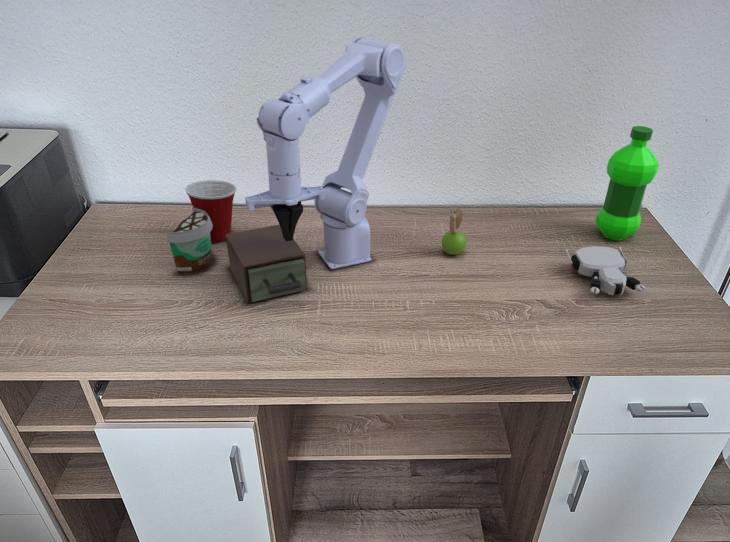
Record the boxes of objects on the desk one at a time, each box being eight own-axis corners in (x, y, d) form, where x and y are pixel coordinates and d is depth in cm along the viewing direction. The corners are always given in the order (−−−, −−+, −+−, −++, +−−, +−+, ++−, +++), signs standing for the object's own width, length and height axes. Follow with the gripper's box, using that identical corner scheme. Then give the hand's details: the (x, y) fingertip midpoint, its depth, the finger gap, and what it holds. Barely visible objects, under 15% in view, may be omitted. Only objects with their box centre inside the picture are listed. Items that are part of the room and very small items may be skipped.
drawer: (314, 302, 118) (313, 273, 114) (259, 315, 114) (255, 285, 111) (285, 259, 131) (283, 231, 127) (234, 269, 127) (231, 241, 124)
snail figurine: (435, 258, 134) (440, 207, 127) (444, 245, 139) (449, 195, 132) (459, 263, 133) (465, 212, 126) (468, 250, 138) (473, 200, 131)
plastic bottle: (646, 240, 143) (679, 134, 129) (610, 248, 140) (639, 139, 125) (617, 222, 151) (645, 119, 136) (582, 229, 147) (607, 124, 133)
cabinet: (307, 289, 123) (305, 254, 118) (248, 302, 119) (243, 266, 114) (285, 257, 133) (282, 223, 129) (230, 268, 129) (225, 234, 124)
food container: (202, 281, 125) (194, 236, 119) (174, 277, 126) (165, 233, 120) (227, 252, 135) (221, 209, 129) (200, 248, 135) (193, 206, 130)
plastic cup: (252, 233, 142) (246, 184, 135) (218, 252, 134) (210, 201, 127) (217, 221, 146) (210, 173, 139) (183, 239, 139) (173, 189, 132)
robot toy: (644, 302, 124) (614, 260, 135) (651, 284, 121) (620, 242, 132) (586, 305, 122) (560, 262, 134) (592, 287, 119) (565, 244, 131)
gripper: (250, 183, 105) (257, 254, 113) (330, 172, 111) (331, 241, 118) (239, 169, 110) (246, 238, 118) (316, 159, 116) (317, 225, 123)
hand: (287, 238), depth 118 cm, fingers closed
